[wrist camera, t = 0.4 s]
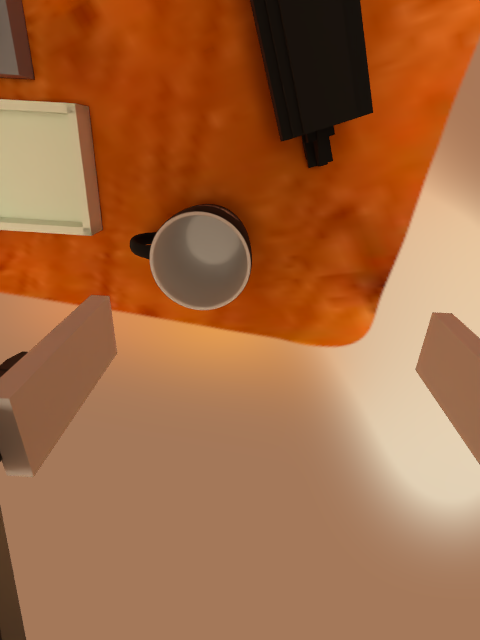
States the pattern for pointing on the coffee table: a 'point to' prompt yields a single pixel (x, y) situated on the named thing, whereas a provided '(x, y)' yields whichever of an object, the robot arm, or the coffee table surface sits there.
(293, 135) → the security camera
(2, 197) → the parts tray
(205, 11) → the coffee table surface
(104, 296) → the robot arm
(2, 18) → the block
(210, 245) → the mug
